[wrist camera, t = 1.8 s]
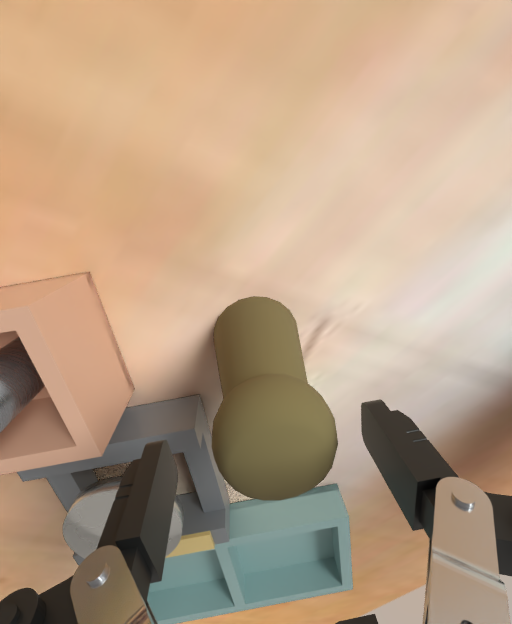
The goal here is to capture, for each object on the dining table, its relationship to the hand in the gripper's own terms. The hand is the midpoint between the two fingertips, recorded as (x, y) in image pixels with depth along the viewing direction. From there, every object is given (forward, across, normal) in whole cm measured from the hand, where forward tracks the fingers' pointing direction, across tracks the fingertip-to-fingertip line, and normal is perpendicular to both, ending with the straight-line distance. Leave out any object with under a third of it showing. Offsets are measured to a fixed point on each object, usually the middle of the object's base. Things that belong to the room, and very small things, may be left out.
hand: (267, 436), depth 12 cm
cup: (+10, +14, -2) cm, 17 cm away
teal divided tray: (+10, +5, +22) cm, 25 cm away
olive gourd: (+10, 0, 0) cm, 10 cm away
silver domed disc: (+8, +11, +10) cm, 17 cm away
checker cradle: (+10, +10, +10) cm, 18 cm away
